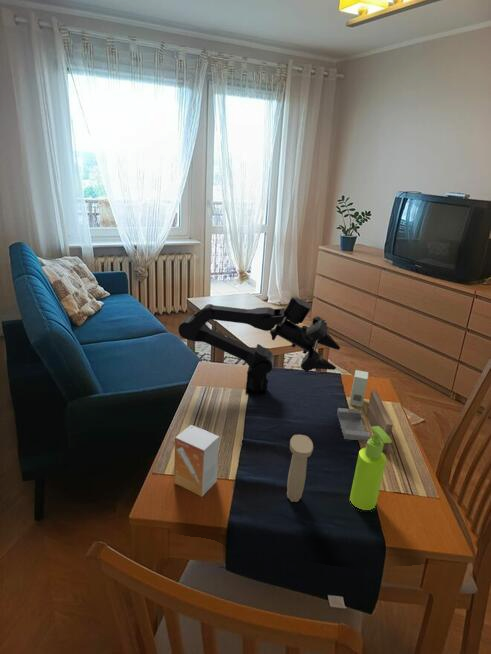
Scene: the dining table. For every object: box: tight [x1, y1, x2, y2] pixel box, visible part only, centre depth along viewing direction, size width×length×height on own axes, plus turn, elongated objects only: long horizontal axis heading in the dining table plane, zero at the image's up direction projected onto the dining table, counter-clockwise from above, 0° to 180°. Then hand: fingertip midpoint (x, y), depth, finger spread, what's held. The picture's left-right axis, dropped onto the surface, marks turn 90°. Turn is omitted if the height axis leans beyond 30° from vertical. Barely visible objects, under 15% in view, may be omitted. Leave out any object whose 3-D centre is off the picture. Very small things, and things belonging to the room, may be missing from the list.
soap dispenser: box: [349, 426, 393, 510], centre depth 97 cm, size 6×7×20 cm
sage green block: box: [349, 369, 369, 408], centre depth 141 cm, size 4×6×10 cm
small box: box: [173, 424, 220, 498], centre depth 101 cm, size 8×6×13 cm
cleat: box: [336, 407, 371, 443], centre depth 129 cm, size 7×14×2 cm, turn 178°
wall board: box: [366, 389, 394, 454], centre depth 126 cm, size 3×18×9 cm, turn 178°
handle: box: [286, 434, 314, 503], centre depth 98 cm, size 5×6×15 cm
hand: (337, 358), depth 138 cm, fingers open, 9 cm apart
